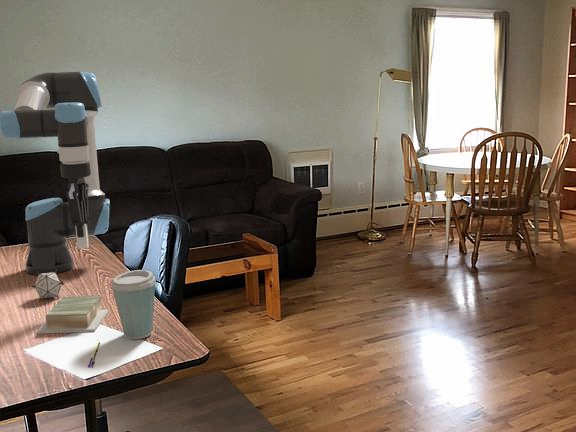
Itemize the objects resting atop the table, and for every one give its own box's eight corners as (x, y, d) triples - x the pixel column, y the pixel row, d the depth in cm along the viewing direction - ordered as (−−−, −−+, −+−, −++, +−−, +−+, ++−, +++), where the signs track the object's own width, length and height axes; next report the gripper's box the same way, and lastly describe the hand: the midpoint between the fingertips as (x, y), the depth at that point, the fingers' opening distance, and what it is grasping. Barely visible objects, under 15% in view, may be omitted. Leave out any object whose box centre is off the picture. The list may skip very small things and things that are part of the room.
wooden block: (63, 296, 167) (45, 315, 154) (100, 295, 168) (86, 313, 154) (64, 309, 168) (47, 329, 154) (102, 308, 168) (88, 327, 155)
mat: (55, 313, 167) (55, 311, 167) (108, 311, 167) (108, 309, 167) (37, 333, 153) (37, 331, 153) (94, 331, 154) (94, 329, 154)
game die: (53, 312, 179) (50, 292, 172) (27, 301, 180) (22, 280, 173) (71, 289, 185) (68, 269, 178) (46, 278, 186) (42, 257, 179)
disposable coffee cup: (139, 346, 144) (134, 284, 141) (105, 338, 149) (99, 278, 146) (168, 330, 153) (164, 272, 150) (135, 323, 158) (131, 266, 155)
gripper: (68, 158, 171) (76, 241, 177) (52, 165, 159) (61, 254, 164) (95, 158, 171) (102, 240, 177) (82, 165, 159) (90, 254, 164)
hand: (83, 247), depth 170 cm, fingers closed
